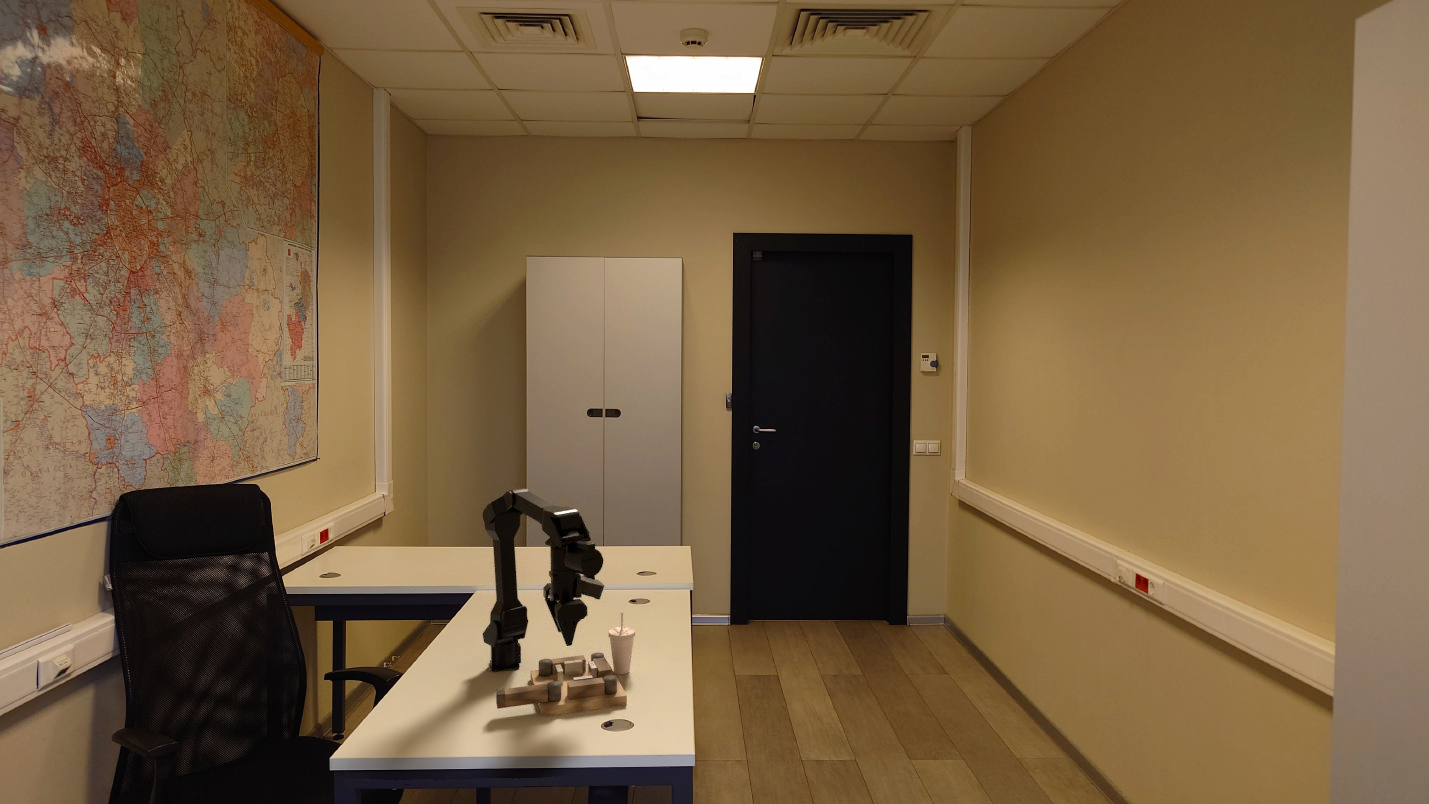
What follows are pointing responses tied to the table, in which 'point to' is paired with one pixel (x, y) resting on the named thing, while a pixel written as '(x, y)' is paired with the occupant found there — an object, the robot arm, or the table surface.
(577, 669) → the brackets
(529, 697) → the leg
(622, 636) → the smoothie
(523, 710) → the table surface
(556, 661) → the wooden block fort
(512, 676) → the table surface
